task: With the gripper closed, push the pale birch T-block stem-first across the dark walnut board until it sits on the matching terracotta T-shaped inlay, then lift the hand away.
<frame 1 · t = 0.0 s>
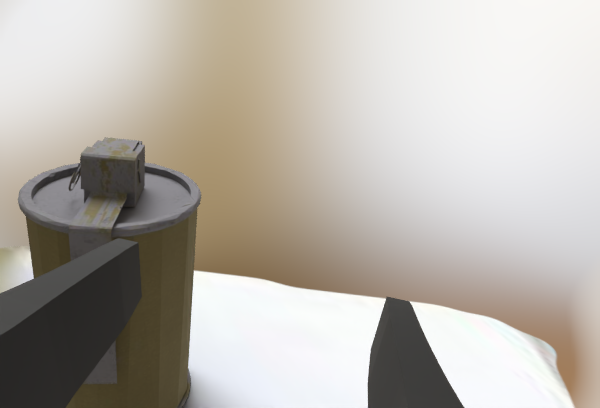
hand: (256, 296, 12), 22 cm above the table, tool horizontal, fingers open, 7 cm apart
canister: (122, 392, 34), on the table
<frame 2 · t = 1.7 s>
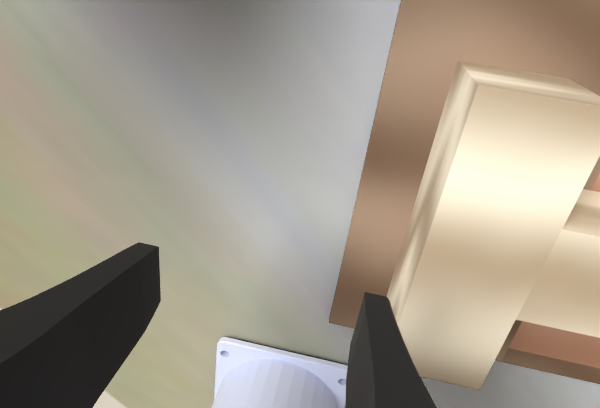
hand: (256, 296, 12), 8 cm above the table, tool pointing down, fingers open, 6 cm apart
t block: (556, 229, 18), resting on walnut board
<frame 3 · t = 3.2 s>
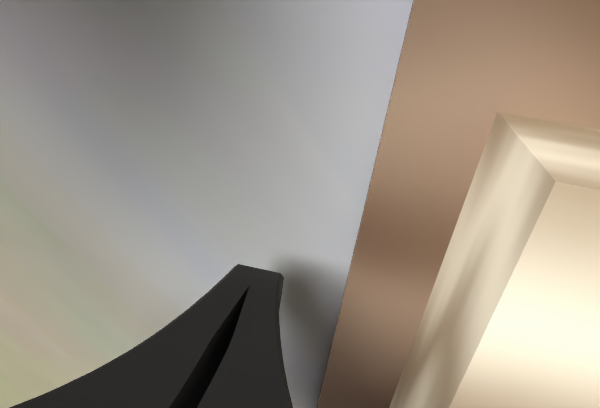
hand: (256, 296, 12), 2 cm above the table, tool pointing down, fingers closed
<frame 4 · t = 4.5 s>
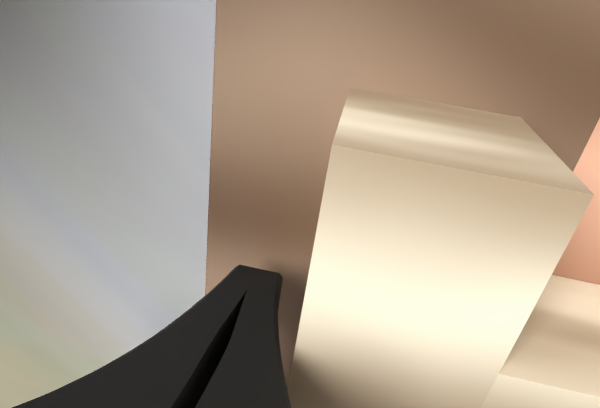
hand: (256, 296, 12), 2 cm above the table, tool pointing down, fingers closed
t block: (512, 325, 13), resting on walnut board, touching gripper
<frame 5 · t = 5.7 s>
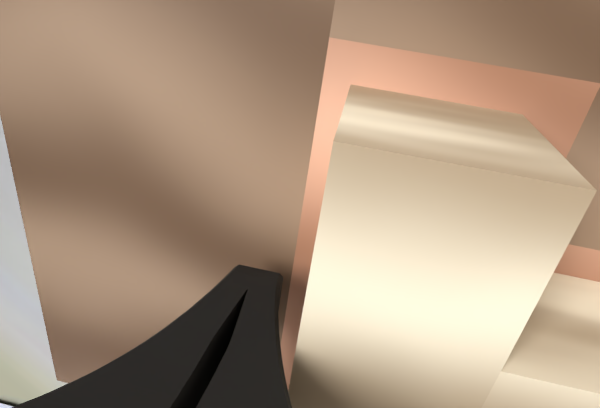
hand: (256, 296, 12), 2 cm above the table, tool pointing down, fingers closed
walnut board: (395, 263, 13), on the table
t block: (513, 323, 13), resting on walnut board
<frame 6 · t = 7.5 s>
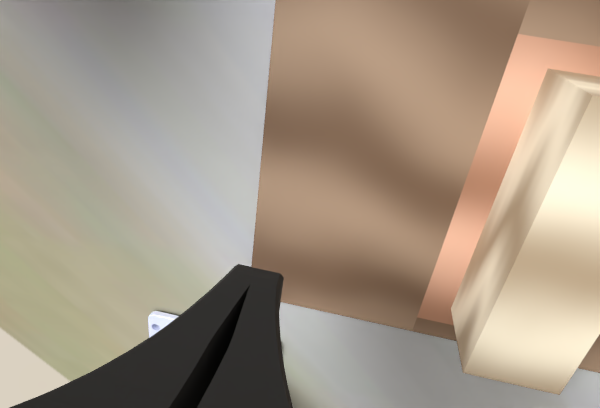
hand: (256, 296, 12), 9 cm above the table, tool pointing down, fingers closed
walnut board: (534, 190, 19), on the table
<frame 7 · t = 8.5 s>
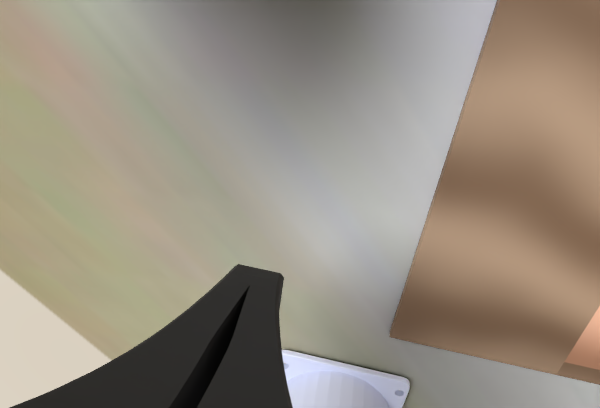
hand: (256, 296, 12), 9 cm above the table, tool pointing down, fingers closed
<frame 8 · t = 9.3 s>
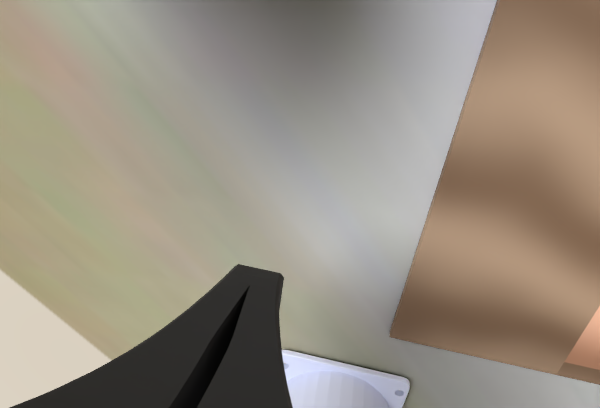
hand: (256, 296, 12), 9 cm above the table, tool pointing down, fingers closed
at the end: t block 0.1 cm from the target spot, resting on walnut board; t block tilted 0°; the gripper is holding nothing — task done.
